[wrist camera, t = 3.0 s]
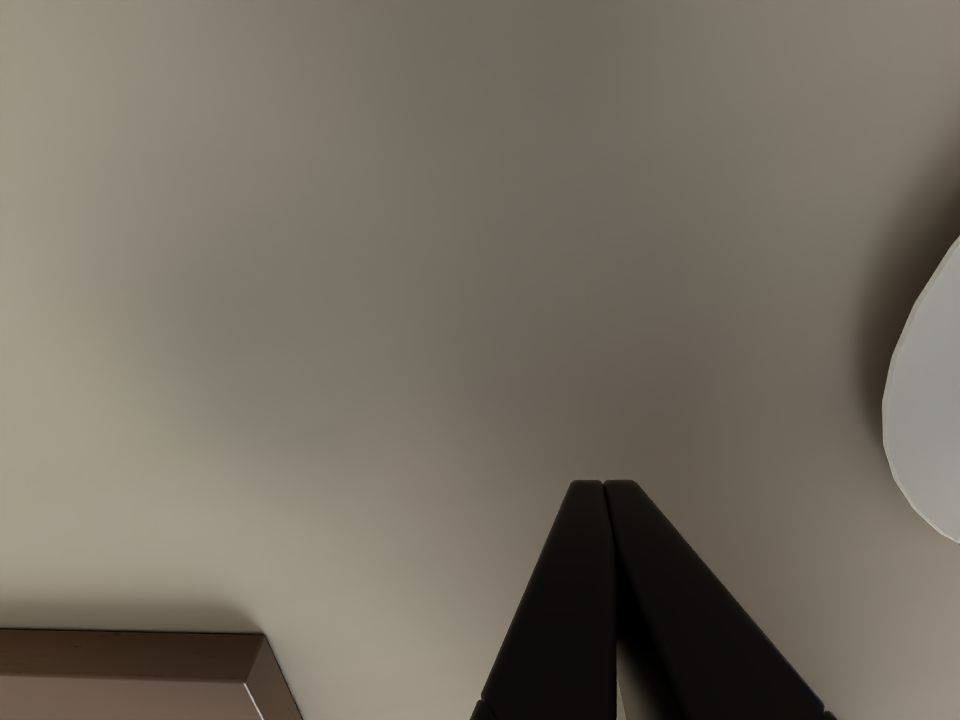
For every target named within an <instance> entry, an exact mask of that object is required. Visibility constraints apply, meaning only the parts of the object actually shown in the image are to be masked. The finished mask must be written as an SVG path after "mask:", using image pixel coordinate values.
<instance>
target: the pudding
mask: <svg viewBox="0 0 960 720" xmlns="http://www.w3.org/2000/svg"><path fill="white" fill-rule="evenodd" d="M882 425H883V446H884V449H885V452H886V456H887V459H888V462H889V465H890V469H891V472H892V475H893V479H894V481H895V482H896V484H897V485H898V487H899V488H900V490H901V491H902V493H903V495H904V496H905V498H906V499H907V501H908V502H909V504H910V505H911V507H912V508H913V510H914V511H916V512H917V513H918V514H919V515H920V516H921V517H922V518H923V519H924V520H926V521H927V522H928V523H929V524H930V525H931V526H932V527H933V528H934V529H936V530H937V531H938V532H939V533H940V534H942V535H944V536H946V537H947V538H949V539H951V540H953V541H954V542H956V543H958V544H960V236H959V237H958V238H957V240H956V241H955V242H954V243H953V244H952V245H951V247H950V248H949V250H948V251H947V253H946V254H945V256H944V258H943V259H942V261H941V262H940V264H939V265H938V267H937V269H936V270H935V272H934V273H933V275H932V277H931V278H930V280H929V281H928V283H927V284H926V286H925V288H924V289H923V291H922V292H921V294H920V295H919V297H918V299H917V300H916V302H915V303H914V305H913V308H912V310H911V312H910V315H909V317H908V319H907V322H906V324H905V326H904V329H903V331H902V333H901V336H900V338H899V341H898V343H897V345H896V348H895V350H894V352H893V355H892V357H891V362H890V367H889V372H888V376H887V381H886V386H885V391H884V396H883V400H882Z"/></svg>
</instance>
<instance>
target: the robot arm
mask: <svg viewBox="0 0 960 720" xmlns="http://www.w3.org/2000/svg"><path fill="white" fill-rule="evenodd" d="M617 676H618V681H619V685H620V690H621V695H622V700H623V704H624V709H625V714H626V719H627V720H837V718H836V717H835V716H834V715H833V714H832V713H831V712H829V711H825V712H824V704H823V702H822V701H821V700H820V699H819V698H818V696H817V695H816V694H815V693H814V692H813V690H812V689H811V688H810V687H809V686H808V685H807V683H806V682H805V681H804V680H803V679H802V677H801V676H800V675H799V674H798V673H797V672H796V670H795V669H794V668H793V667H792V666H791V664H790V663H789V662H788V661H787V660H786V659H785V657H784V656H783V655H782V654H781V653H780V651H779V650H778V649H777V648H776V647H775V646H774V644H773V643H772V642H771V641H770V640H769V638H768V637H767V636H766V635H765V634H764V633H763V631H762V630H761V629H760V628H759V627H758V625H757V624H756V623H755V622H754V621H753V620H752V618H751V617H750V616H749V615H748V614H747V612H746V611H745V610H744V609H743V608H742V607H741V605H740V604H739V603H738V602H737V601H736V599H735V598H734V597H733V596H732V595H731V594H730V592H729V591H728V590H727V589H726V588H725V586H724V585H723V584H722V583H721V582H720V581H719V579H718V578H717V577H716V576H715V575H714V573H713V572H712V571H711V570H710V569H709V568H708V566H707V565H706V564H705V563H704V562H703V560H702V559H701V558H700V557H699V556H698V555H697V553H696V552H695V551H694V550H693V549H692V547H691V546H690V545H689V544H688V543H687V542H686V540H685V539H684V538H683V537H682V536H681V534H680V533H679V532H678V531H677V530H676V529H675V527H674V526H673V525H672V524H671V523H670V521H669V520H668V519H667V518H666V517H665V516H664V514H663V513H662V512H661V511H660V510H659V508H658V507H657V506H656V505H655V504H654V503H653V501H652V500H651V499H650V498H649V497H648V495H647V494H646V493H645V492H644V491H643V490H642V488H641V487H640V486H639V485H638V484H637V483H636V482H635V481H633V480H606V481H605V482H604V484H602V482H601V481H599V480H574V481H573V482H572V483H571V484H570V486H569V488H568V490H567V493H566V495H565V497H564V500H563V502H562V505H561V507H560V509H559V512H558V514H557V516H556V519H555V521H554V523H553V526H552V528H551V530H550V533H549V535H548V538H547V540H546V542H545V545H544V547H543V549H542V552H541V554H540V556H539V559H538V561H537V563H536V566H535V568H534V571H533V573H532V575H531V578H530V580H529V582H528V585H527V587H526V589H525V592H524V594H523V596H522V599H521V601H520V604H519V606H518V608H517V611H516V613H515V615H514V618H513V620H512V622H511V625H510V627H509V629H508V632H507V634H506V637H505V639H504V641H503V644H502V646H501V648H500V651H499V653H498V655H497V658H496V660H495V662H494V665H493V667H492V670H491V672H490V674H489V677H488V679H487V681H486V684H485V686H484V688H483V691H482V693H481V699H482V700H479V701H478V702H477V704H476V706H475V709H474V711H473V713H472V716H471V718H470V720H616V717H617Z"/></svg>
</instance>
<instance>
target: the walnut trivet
mask: <svg viewBox="0 0 960 720" xmlns="http://www.w3.org/2000/svg"><path fill="white" fill-rule="evenodd" d="M0 720H302V719H301V716H300V714H299V712H298V710H297V707H296V705H295V703H294V701H293V698H292V696H291V694H290V692H289V689H288V687H287V685H286V683H285V680H284V678H283V676H282V674H281V671H280V669H279V667H278V665H277V662H276V660H275V658H274V656H273V653H272V651H271V649H270V647H269V645H268V642H267V640H266V638H265V636H263V635H229V634H184V633H138V632H93V631H48V630H3V629H0Z"/></svg>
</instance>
